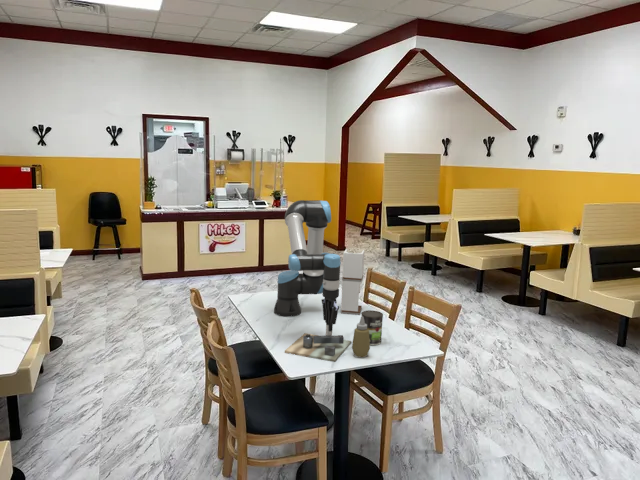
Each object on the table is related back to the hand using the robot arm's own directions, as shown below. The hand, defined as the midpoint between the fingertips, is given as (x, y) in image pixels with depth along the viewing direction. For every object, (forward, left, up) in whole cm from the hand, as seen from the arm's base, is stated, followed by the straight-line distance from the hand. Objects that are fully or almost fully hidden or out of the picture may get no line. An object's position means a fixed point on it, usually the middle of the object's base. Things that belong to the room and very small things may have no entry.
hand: (328, 336), depth 230 cm
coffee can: (+16, +15, -5) cm, 23 cm away
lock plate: (-4, -3, -5) cm, 7 cm away
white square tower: (-6, +55, -5) cm, 56 cm away
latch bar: (-1, -4, -4) cm, 5 cm away
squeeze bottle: (+16, -3, -5) cm, 17 cm away
